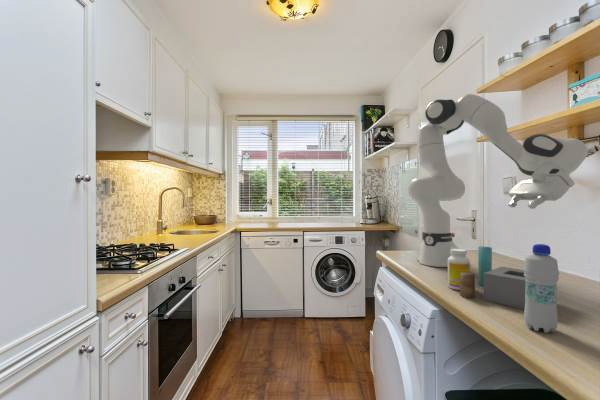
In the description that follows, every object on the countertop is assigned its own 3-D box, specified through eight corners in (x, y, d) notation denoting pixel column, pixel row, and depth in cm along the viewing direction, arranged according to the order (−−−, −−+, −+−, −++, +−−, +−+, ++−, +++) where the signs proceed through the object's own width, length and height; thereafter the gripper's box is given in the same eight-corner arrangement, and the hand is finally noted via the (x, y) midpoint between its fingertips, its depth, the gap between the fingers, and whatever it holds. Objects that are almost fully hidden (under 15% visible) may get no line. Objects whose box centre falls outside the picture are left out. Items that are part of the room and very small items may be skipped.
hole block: (501, 291, 105) (501, 266, 105) (550, 301, 95) (550, 274, 95) (483, 299, 97) (483, 273, 97) (534, 312, 87) (535, 282, 87)
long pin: (481, 282, 115) (481, 246, 115) (493, 285, 112) (493, 247, 112) (476, 284, 113) (476, 247, 112) (488, 287, 110) (488, 248, 109)
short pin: (463, 293, 103) (464, 271, 103) (477, 296, 100) (477, 273, 100) (457, 295, 101) (457, 273, 101) (470, 299, 98) (471, 276, 97)
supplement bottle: (472, 291, 105) (472, 251, 105) (450, 290, 106) (450, 251, 106) (466, 285, 112) (466, 248, 111) (445, 284, 113) (445, 247, 113)
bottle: (563, 330, 76) (563, 244, 75) (552, 337, 72) (553, 247, 71) (529, 321, 81) (530, 241, 81) (518, 327, 77) (518, 243, 77)
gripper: (519, 173, 123) (494, 199, 122) (566, 169, 102) (536, 200, 102) (531, 185, 123) (506, 211, 123) (580, 183, 103) (550, 214, 102)
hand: (520, 206), depth 112 cm, fingers open, 8 cm apart
